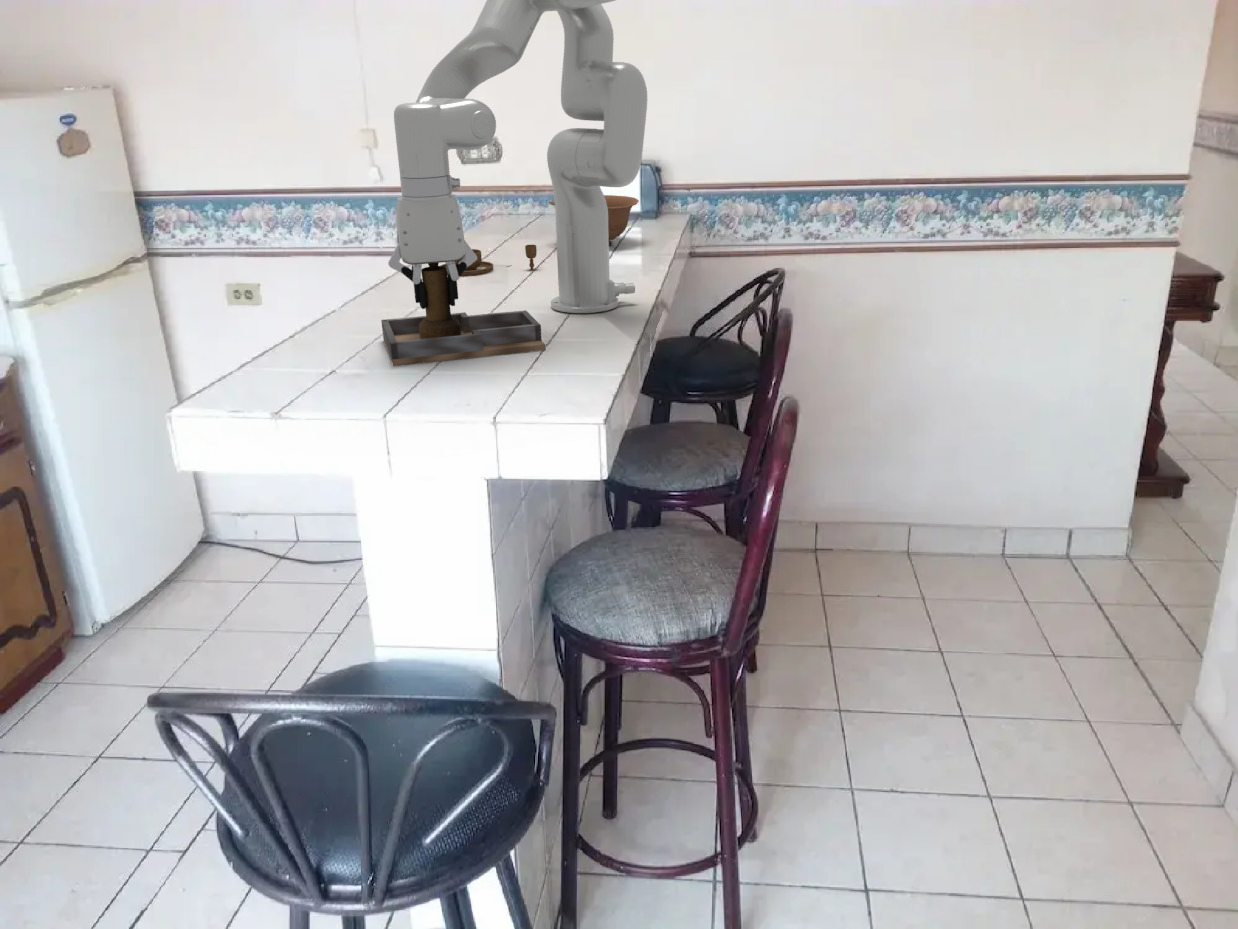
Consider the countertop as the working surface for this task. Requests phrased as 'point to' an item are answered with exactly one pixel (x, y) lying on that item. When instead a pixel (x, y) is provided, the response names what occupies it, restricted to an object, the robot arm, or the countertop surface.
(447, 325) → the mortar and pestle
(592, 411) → the countertop surface
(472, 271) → the place setting
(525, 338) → the keyhole board
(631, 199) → the bowl
